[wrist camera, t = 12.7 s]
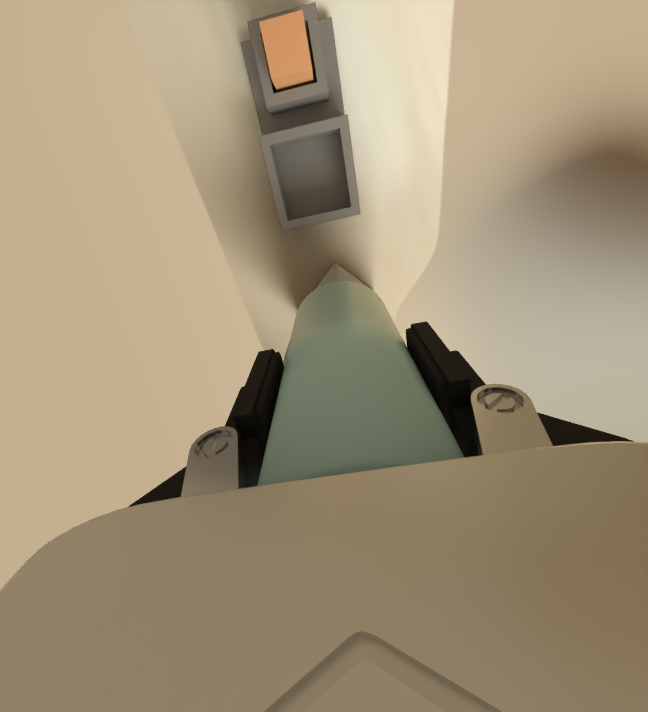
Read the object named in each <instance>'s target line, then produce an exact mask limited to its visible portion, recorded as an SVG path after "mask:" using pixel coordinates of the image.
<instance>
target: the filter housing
mask: <svg viewBox="0 0 648 712" xmlns="http://www.w3.org/2000/svg"><path fill="white" fill-rule="evenodd" d="M299 10H303V16H304V22H305V28H306V34H307V40H308V46H309V52H310V58H311V64H312V72H313V82H314V83H313V84H309V85H305V86H301V87H297V88H294V89H290V90H286V91H282V92H277V90H276V88H275V86H274V83H273V81H272V79H271V75H270V71H269V66H268V61H267V57H266V52H265V47H264V43H263V38H262V33H261V29H260V24H259V22H260V21H264V20H267V19H271V18H274V17H278V16H281V15H285V14H288V13H292V12H295V11H299ZM247 23H248V27H249V31H250V36H251V40H247V41H244V42H241V46H242V51H243V55H244V59H245V63H246V67H247V71H248V75H249V80H250V84H251V88H252V92H253V96H254V100H255V105H256V109H257V113H258V117H259V121H260V125H261V129H262V134H263V136H259V140H260V145H261V149H262V153H263V157H264V161H265V165H266V169H267V173H268V177H269V181H270V185H271V189H272V193H273V197H274V201H275V205H276V209H277V213H278V218H279V222H280V226H281V230H282V231H285V230H290V229H294V228H299V227H303V226H308V225H313V224H317V223H322V222H326V221H331V220H336V219H340V218H345V217H350V216H354V215H359V214H360V207H359V199H358V191H357V184H356V176H355V168H354V161H353V153H352V145H351V138H350V130H349V122H348V115H344V107H343V100H342V92H341V85H340V77H339V70H338V62H337V55H336V48H335V40H334V33H333V25H332V18H331V17H329V18H326V19H322V20H319V21H318V17H317V10H316V3H311V4H308V5H304V6H301V7H297V8H294V9H290V10H287V11H283V12H280V13H276V14H273V15H269V16H266V17H262V18H259V19H255V20H252V21H248V22H247Z"/></svg>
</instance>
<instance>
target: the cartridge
mask: <svg viewBox="0 0 648 712" xmlns="http://www.w3.org/2000/svg"><path fill="white" fill-rule="evenodd" d="M457 458H465V457H464V455H463V453H462V451H461V450H460V448H459V446H458V444H457V442H456V440H455V438H454V436H453V434H452V432H451V430H450V429H449V427H448V425H447V423H446V421H445V419H444V417H443V415H442V413H441V411H440V410H439V408H438V406H437V404H436V402H435V400H434V398H433V396H432V394H431V392H430V390H429V389H428V387H427V385H426V383H425V381H424V379H423V377H422V375H421V373H420V371H419V369H418V368H417V366H416V364H415V362H414V360H413V358H412V356H411V354H410V352H409V350H408V348H407V347H406V345H405V343H404V341H403V339H402V337H401V335H400V333H399V331H398V330H397V328H396V326H395V324H394V322H393V320H392V318H391V316H390V314H389V312H388V310H387V308H386V307H385V305H384V303H383V301H382V300H381V298H380V297H379V296H378V295H377V294H376V293H375V292H374V291H372V290H371V289H370V288H368V287H366V286H364V285H362V284H359V283H356V282H351V281H335V282H331V283H327V284H324V285H322V286H320V287H318V288H316V289H315V290H313V291H312V292H311V293H310V294H309V295H308V296H307V297H306V298H305V299H304V300H303V302H302V303H301V305H300V306H299V308H298V311H297V314H296V318H295V322H294V326H293V331H292V335H291V340H290V344H289V348H288V353H287V357H286V362H285V366H284V370H283V375H282V379H281V384H280V388H279V392H278V397H277V401H276V406H275V410H274V415H273V419H272V423H271V428H270V432H269V437H268V441H267V445H266V450H265V454H264V459H263V463H262V467H261V472H260V476H259V481H258V485H257V486H261V485H268V484H275V483H282V482H290V481H297V480H304V479H311V478H319V477H326V476H333V475H341V474H348V473H355V472H362V471H370V470H377V469H384V468H391V467H398V466H406V465H413V464H420V463H427V462H435V461H442V460H450V459H457Z"/></svg>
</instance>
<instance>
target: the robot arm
mask: <svg viewBox="0 0 648 712" xmlns="http://www.w3.org/2000/svg"><path fill="white" fill-rule="evenodd" d="M406 339H407V348H408V350H409V352H410V354H411V356H412V358H413V360H414V362H415V364H416V366H417V368H418V369H419V371H420V373H421V375H422V377H423V379H424V381H425V383H426V385H427V387H428V389H429V390H430V392H431V394H432V396H433V398H434V400H435V402H436V404H437V406H438V408H439V410H440V411H441V413H442V415H443V417H444V419H445V421H446V423H447V425H448V427H449V429H450V430H451V432H452V434H453V436H454V438H455V440H456V442H457V444H458V446H459V448H460V450H461V451H462V453H463V455H464V457H465V458H457V459H450V460H442V461H435V462H427V463H420V464H413V465H406V466H398V467H391V468H384V469H377V470H370V471H362V472H355V473H348V474H341V475H333V476H326V477H319V478H311V479H304V480H297V481H290V482H282V483H275V484H268V485H261V486H257V485H258V481H259V476H260V472H261V467H262V463H263V459H264V454H265V450H266V445H267V441H268V437H269V432H270V428H271V423H272V419H273V415H274V410H275V406H276V401H277V397H278V392H279V388H280V384H281V379H282V375H283V370H284V364H283V361H282V358H281V355H280V353H279V352H275V351H274V350H273V349H271V350H266V351H260V352H259V353H258V355H257V357H256V360H255V362H254V365H253V367H252V369H251V372H250V374H249V377H248V380H247V382H246V384H245V386H244V387H242V388H241V389H240V391H239V394H238V397H237V399H236V401H235V404H234V406H233V408H232V410H231V413H230V415H229V418H228V420H227V422H226V425H225V427H219V428H214V429H212V430H209V431H207V432H206V433H204V434H203V435H201V436H200V437H199V438H198V439H196V441H195V442H194V443H193V444H192V446H191V448H190V452H189V456H188V461H187V466H186V467H185V468H183V469H182V470H181V471H179V472H177V473H176V474H175V475H173V476H172V477H170V478H169V479H167V480H166V481H164V482H163V483H162V484H160V485H159V486H157V487H156V488H154V489H153V490H151V491H150V492H149V493H147V494H146V495H144V496H143V497H141V498H140V499H139V500H137V501H136V502H134V503H133V504H131V505H130V506H129V507H127V508H123V509H120V510H116V511H113V512H111V513H108V514H105V515H102V516H99V517H96V518H94V519H92V520H89V521H87V522H85V523H83V524H81V525H79V526H76V527H74V528H72V529H71V530H69V531H67V532H65V533H63V534H61V535H60V536H58V537H56V538H55V539H53V540H52V541H50V542H48V543H47V544H46V545H44V546H43V547H42V548H41V549H39V550H38V551H37V552H36V553H35V554H34V555H33V556H32V557H31V558H30V559H29V560H28V561H27V562H26V563H25V564H24V565H23V566H22V567H21V568H20V569H19V570H18V571H17V573H15V574H14V576H13V577H12V578H11V579H10V580H9V581H8V582H7V583H6V584H5V585H4V587H3V588H2V589H1V590H0V712H648V442H634V441H631V440H628V439H626V438H623V437H619V436H616V435H612V434H609V433H606V432H602V431H599V430H595V429H592V428H588V427H585V426H582V425H578V424H575V423H571V422H567V421H564V420H561V419H557V418H554V417H551V416H547V415H544V414H540V413H537V412H536V410H535V408H534V405H533V404H532V401H531V399H530V398H529V397H528V395H527V394H526V393H524V392H523V391H521V390H520V389H517V388H515V387H512V386H508V385H502V384H489V385H486V384H485V383H484V382H483V381H482V379H481V378H480V377H479V376H478V375H477V374H476V372H475V371H474V370H473V369H472V367H471V366H470V365H469V364H468V362H467V361H466V360H465V359H464V358H463V356H462V355H461V354H460V353H459V352H458V351H449V349H448V348H447V347H446V346H445V344H444V343H443V342H442V340H441V339H440V338H439V337H438V335H437V334H436V333H435V331H434V330H433V329H432V328H431V326H430V325H429V324H428V322H421V323H415V324H411V328H409V329H406Z"/></svg>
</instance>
